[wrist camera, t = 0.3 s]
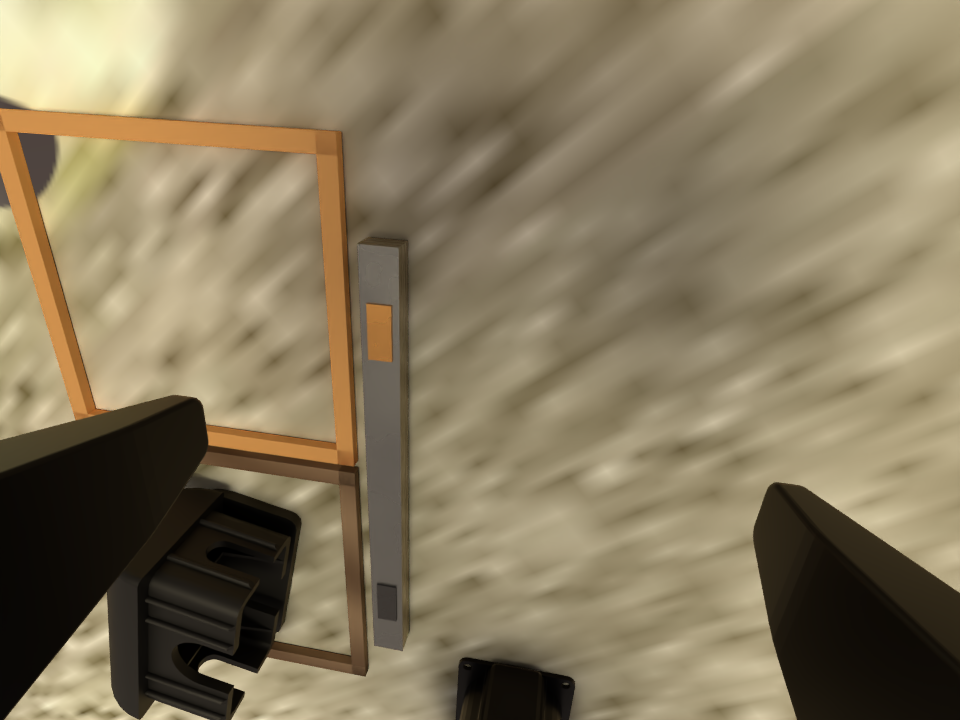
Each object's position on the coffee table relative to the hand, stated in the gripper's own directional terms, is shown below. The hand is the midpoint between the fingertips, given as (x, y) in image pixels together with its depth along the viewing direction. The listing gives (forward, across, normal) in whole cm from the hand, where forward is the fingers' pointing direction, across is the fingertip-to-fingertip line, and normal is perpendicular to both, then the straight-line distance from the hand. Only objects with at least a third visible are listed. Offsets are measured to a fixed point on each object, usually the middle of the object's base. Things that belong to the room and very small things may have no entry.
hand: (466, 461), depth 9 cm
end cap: (+14, +15, +18) cm, 28 cm away
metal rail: (+14, +6, +11) cm, 18 cm away
